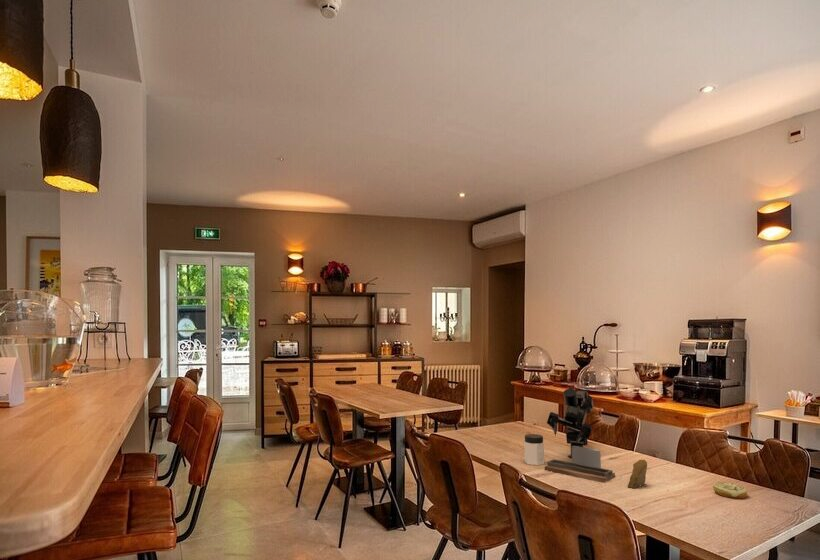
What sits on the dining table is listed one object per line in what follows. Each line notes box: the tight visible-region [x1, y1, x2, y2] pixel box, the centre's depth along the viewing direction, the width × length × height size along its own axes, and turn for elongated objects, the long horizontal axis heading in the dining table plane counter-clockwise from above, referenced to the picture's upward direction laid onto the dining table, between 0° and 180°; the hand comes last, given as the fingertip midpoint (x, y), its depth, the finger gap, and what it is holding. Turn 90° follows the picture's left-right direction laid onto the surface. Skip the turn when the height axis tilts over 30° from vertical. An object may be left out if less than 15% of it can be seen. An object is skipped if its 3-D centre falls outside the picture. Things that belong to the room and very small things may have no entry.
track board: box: [544, 458, 616, 483], centre depth 219 cm, size 11×26×3 cm, turn 48°
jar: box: [523, 433, 545, 466], centre depth 236 cm, size 9×8×12 cm
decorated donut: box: [712, 481, 748, 500], centre depth 193 cm, size 10×11×4 cm
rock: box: [627, 459, 648, 489], centre depth 204 cm, size 11×9×10 cm
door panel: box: [571, 446, 602, 468], centre depth 230 cm, size 2×12×8 cm, turn 48°
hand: (566, 438), depth 226 cm, fingers open, 9 cm apart
